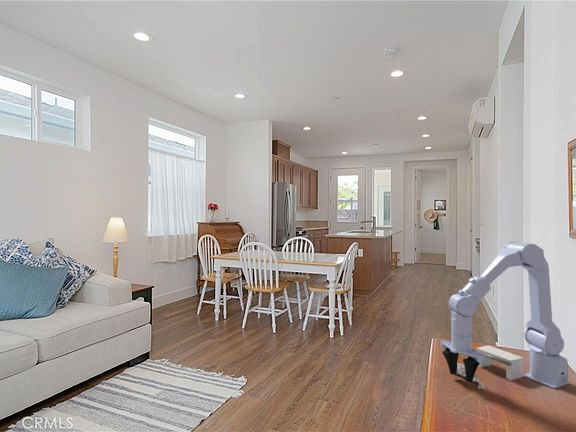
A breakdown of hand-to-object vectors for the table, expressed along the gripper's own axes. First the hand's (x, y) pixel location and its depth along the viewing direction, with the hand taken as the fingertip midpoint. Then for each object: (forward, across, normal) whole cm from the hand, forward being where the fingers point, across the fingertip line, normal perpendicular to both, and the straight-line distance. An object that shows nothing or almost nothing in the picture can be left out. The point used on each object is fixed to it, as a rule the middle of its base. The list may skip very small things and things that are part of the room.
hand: (461, 377), depth 115 cm
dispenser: (+1, 0, +18) cm, 18 cm away
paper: (+2, -1, +4) cm, 4 cm away
